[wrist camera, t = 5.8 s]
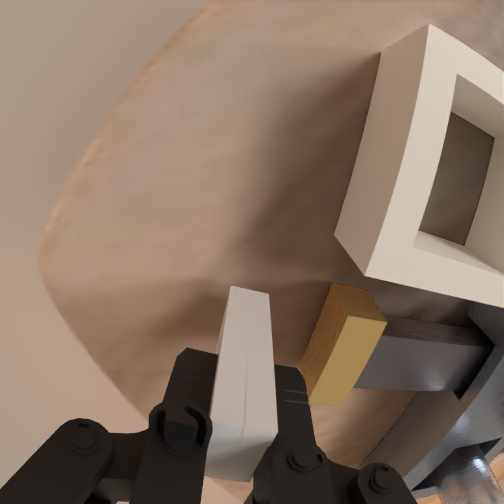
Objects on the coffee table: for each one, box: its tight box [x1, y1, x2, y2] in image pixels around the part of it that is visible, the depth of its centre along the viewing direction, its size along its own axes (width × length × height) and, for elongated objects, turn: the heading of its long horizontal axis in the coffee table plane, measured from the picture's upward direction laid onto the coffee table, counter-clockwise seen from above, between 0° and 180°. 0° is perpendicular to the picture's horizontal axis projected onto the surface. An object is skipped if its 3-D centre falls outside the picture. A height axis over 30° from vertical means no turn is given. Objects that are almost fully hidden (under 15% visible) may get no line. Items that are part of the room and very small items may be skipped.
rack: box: [334, 24, 504, 308], centre depth 10 cm, size 8×8×4 cm
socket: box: [360, 300, 504, 499], centre depth 14 cm, size 16×10×4 cm, turn 167°
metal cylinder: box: [430, 444, 504, 504], centre depth 11 cm, size 4×4×14 cm
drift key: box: [300, 282, 496, 406], centre depth 13 cm, size 4×14×3 cm, turn 77°
